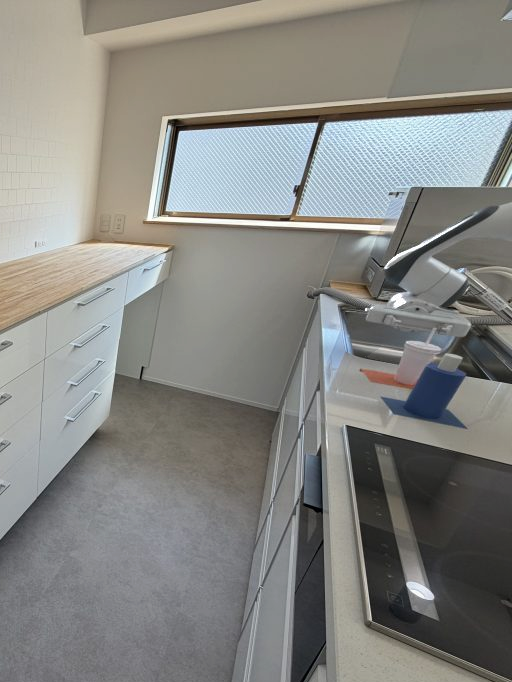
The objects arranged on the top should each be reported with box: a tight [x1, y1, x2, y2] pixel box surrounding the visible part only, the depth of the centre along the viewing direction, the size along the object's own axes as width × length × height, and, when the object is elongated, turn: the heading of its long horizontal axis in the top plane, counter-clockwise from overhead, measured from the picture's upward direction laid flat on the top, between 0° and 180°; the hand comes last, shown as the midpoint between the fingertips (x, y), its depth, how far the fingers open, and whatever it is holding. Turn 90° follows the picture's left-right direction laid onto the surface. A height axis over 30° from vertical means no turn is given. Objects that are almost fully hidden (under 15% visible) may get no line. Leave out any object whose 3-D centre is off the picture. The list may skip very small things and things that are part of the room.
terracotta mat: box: [359, 368, 419, 390], centre depth 103 cm, size 13×9×1 cm
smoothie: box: [394, 328, 442, 385], centre depth 99 cm, size 6×6×14 cm
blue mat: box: [380, 395, 469, 430], centre depth 89 cm, size 12×9×1 cm
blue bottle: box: [403, 353, 467, 419], centre depth 85 cm, size 6×6×13 cm
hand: (419, 327), depth 105 cm, fingers open, 8 cm apart
